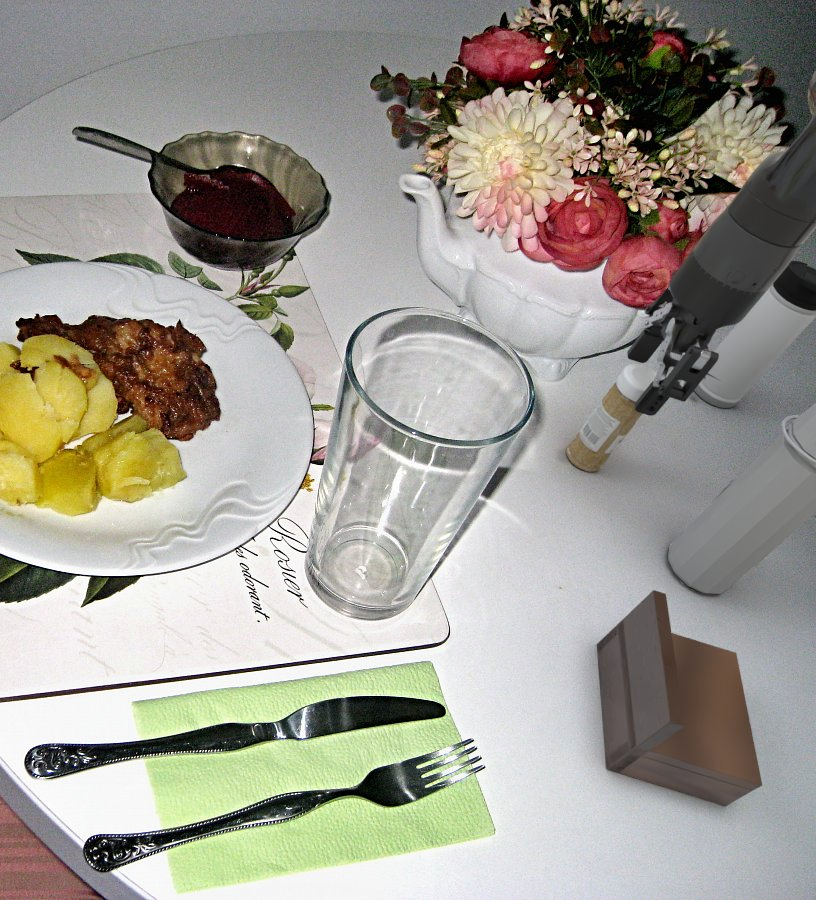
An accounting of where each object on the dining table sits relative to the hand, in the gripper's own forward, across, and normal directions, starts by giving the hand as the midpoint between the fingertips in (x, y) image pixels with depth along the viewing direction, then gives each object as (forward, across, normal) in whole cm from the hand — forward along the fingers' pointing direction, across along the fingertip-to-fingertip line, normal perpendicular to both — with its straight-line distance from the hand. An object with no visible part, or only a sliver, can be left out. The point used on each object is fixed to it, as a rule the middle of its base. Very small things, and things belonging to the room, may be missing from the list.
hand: (638, 384), depth 96 cm
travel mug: (+12, +20, -19) cm, 30 cm away
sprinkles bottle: (+12, 0, 0) cm, 13 cm away
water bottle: (+12, -11, -12) cm, 21 cm away
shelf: (+12, -32, -6) cm, 35 cm away
